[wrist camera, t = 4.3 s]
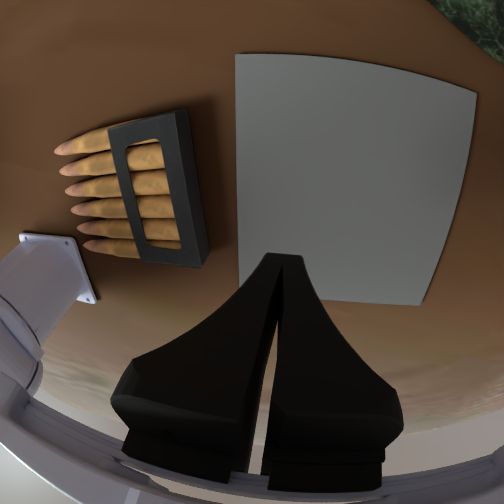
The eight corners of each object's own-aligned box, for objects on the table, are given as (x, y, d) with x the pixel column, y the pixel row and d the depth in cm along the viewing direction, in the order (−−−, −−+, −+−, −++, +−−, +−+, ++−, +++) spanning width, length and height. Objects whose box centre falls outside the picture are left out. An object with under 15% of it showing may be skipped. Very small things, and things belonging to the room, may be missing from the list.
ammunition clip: (202, 269, 20) (81, 259, 23) (210, 254, 22) (92, 248, 24) (174, 111, 15) (44, 144, 17) (187, 107, 16) (60, 137, 19)
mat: (240, 288, 23) (239, 291, 23) (236, 54, 14) (235, 54, 14) (418, 302, 21) (419, 305, 21) (473, 92, 12) (476, 93, 12)
